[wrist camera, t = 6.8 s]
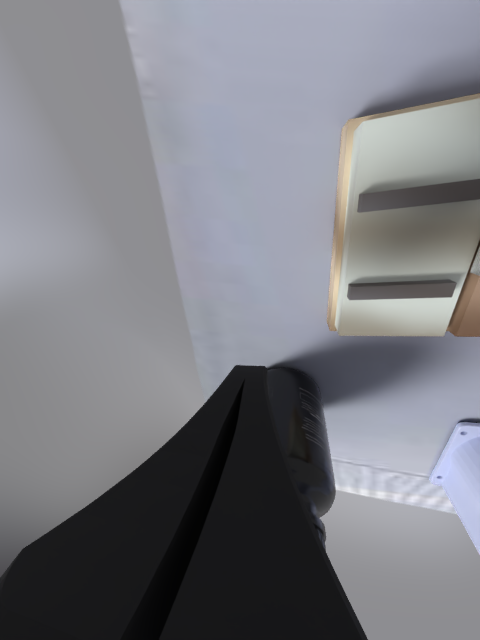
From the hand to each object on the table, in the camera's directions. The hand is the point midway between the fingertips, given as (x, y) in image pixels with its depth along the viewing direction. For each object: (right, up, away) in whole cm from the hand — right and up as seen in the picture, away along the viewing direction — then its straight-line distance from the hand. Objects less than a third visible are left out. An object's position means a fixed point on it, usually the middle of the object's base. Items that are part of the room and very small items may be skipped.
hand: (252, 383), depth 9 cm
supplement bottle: (+4, -4, +13) cm, 14 cm away
